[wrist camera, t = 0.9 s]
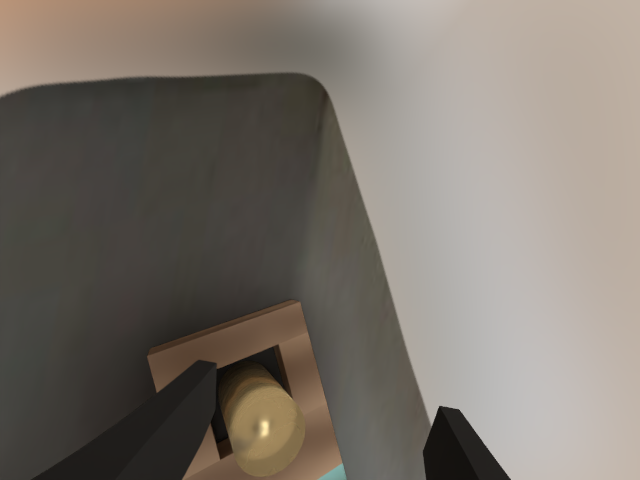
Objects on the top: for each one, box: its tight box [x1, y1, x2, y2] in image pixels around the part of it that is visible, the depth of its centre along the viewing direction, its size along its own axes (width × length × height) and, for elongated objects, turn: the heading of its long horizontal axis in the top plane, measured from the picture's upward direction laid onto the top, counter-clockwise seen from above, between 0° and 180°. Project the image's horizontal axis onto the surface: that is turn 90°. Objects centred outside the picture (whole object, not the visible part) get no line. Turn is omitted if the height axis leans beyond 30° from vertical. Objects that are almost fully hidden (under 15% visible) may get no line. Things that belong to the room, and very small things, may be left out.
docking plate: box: [147, 300, 347, 480], centre depth 21 cm, size 20×10×2 cm, turn 16°
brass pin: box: [218, 361, 305, 477], centre depth 19 cm, size 4×4×7 cm
